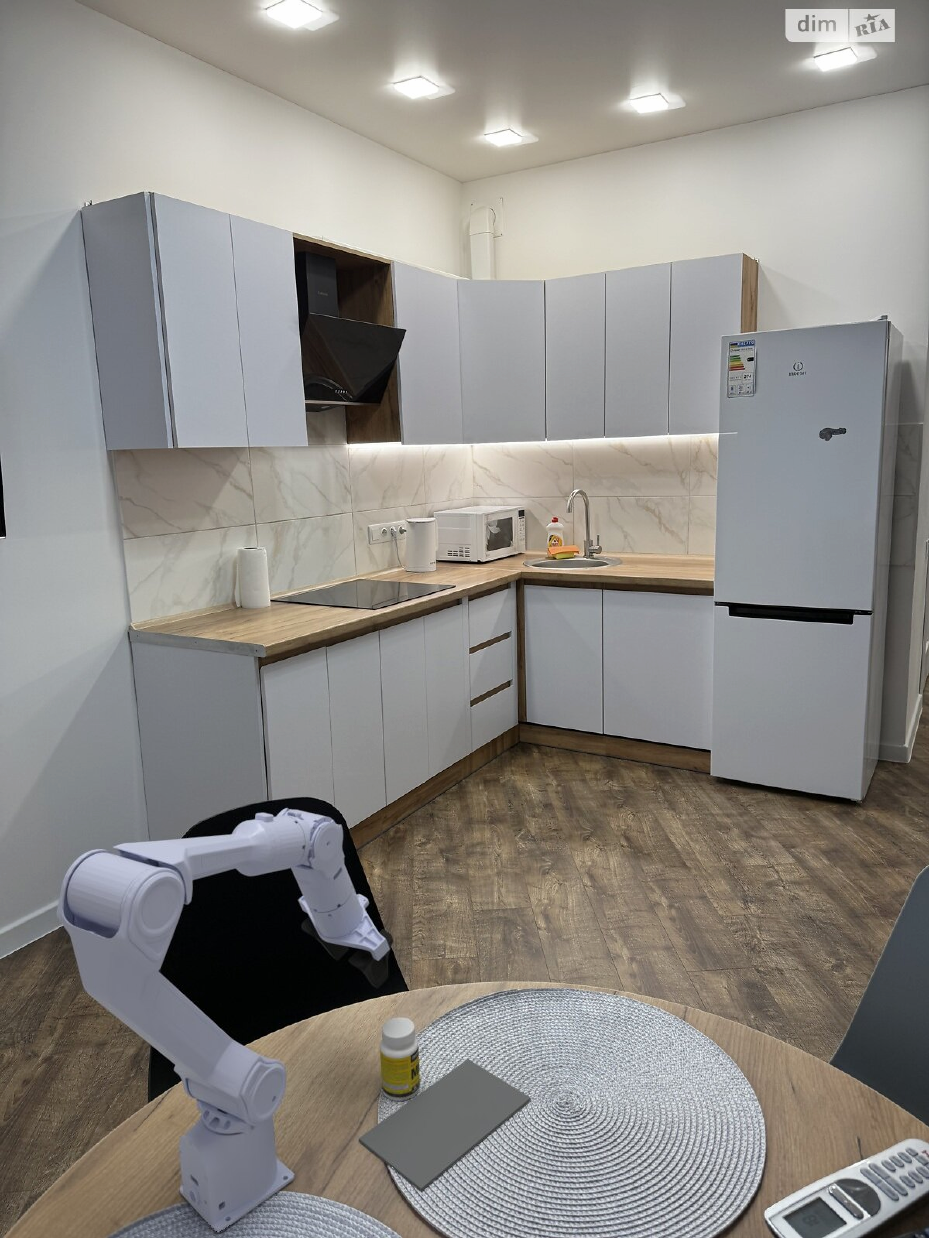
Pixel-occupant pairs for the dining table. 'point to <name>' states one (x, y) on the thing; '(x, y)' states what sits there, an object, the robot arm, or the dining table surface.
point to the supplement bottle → (399, 1059)
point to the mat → (444, 1123)
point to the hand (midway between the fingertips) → (361, 967)
